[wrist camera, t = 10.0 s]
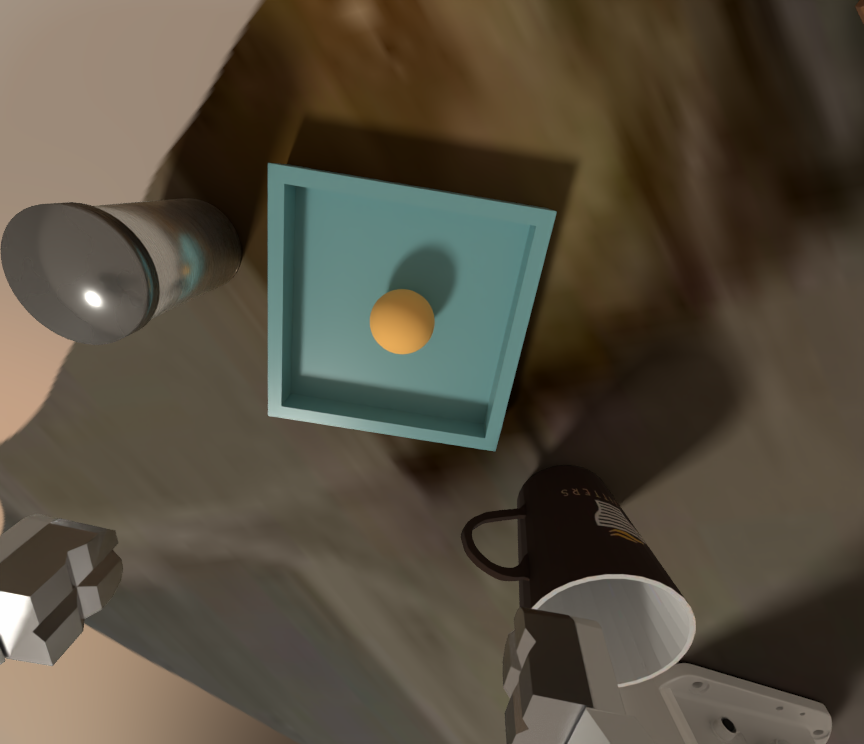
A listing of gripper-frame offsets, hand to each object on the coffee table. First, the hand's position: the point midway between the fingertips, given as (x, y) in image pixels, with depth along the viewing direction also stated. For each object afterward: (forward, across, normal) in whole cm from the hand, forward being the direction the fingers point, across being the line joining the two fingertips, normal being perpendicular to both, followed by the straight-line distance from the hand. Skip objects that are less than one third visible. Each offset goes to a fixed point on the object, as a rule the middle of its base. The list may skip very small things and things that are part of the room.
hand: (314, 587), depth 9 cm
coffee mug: (+20, -11, +11) cm, 25 cm away
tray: (+19, +1, 0) cm, 19 cm away
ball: (+18, +1, 0) cm, 18 cm away
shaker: (+18, +13, -2) cm, 23 cm away
